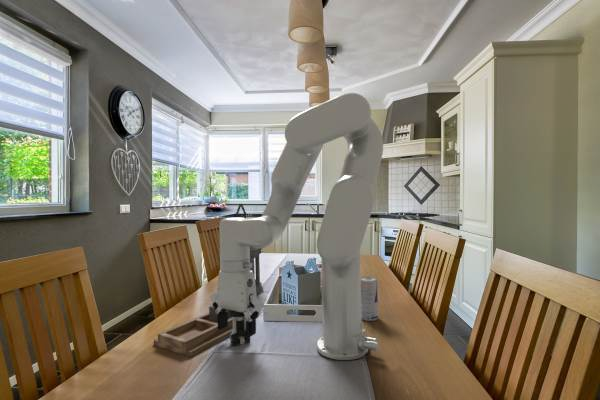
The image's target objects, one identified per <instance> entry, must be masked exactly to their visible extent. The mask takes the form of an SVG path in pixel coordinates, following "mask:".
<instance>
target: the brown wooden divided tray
mask: <svg viewBox="0 0 600 400" xmlns="http://www.w3.org/2000/svg"><path fill="white" fill-rule="evenodd" d="M246 321H248V320H247V318H246ZM232 331H233V318H230V319H228V326H227V327H225V328H223V329H221V330H218V323H216V322H211V321H209V311H208V312H207V313H204V314H202V315H200V316H197V317H195V318H192V319H189V320H187V321H184V322H182V323H180V324H178V325H176V326H174V327H171V328H169V329H166V330H164V331H161V332H159V333H157V338H156V339H154V340H153V345H154V346H156V347H159V348H163V349H165V350H169V351H170V352H173V353H178V354H180V355H183V356H186V357H189V358H192V357H194V356H196V355H197V354H199V353H201V352H203V351H205V350H207V349H208V348H211V347H212V346H214V345H215V344H216V345H217V344H218V343H220V342H221V341H223V340H226V339H227V338H230V334H231V333H232Z"/></svg>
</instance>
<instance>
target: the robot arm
mask: <svg viewBox="0 0 600 400" xmlns="http://www.w3.org/2000/svg"><path fill="white" fill-rule="evenodd" d="M371 111H372V110H371V106H370V103H369V101H368V100H367V98H365V97H364V96H363V95H361V94H359V93H356V92H355V93H354V92H348V93H344V94H343V93H342V94H340V95H338V96H336V97H335V96H334V97H333V98H331V99H329V100H327V101H325V102H322V103H319V104H318V105H315V106H313V107H310V108H308V109H307V110H305V111H302V112H300V113H298V114H296V115H295V116H293V117H292V118H290V120H289V121H287V124H286V126H285V128H284V139H285V141H286V143H285V145H284V147H283V150H282V151H281V154H280V156H279V159H278V161H277V162H276V164H275V166H274V168H273V170H272V172H271V177H270V179H271V180H270V181H271V182H270V183H271V192H270V197H269V199H268V201H267V204H266V206H265V209H264V210H263V213H262V215H261V216H259V217H256V218H248V219H247V217H246V218H244V217H241V216H238V217H236V216H235V217H226V218H225V217H224V218H223V219H221V220H220V222H219V263H220V265H219V267H220V270H219V271H218V277H217V286H216V292H214V293H212V294H211V295H210V296H209V297H210V299H211V300H210V301H211V302H212V306H213V307H214V308H215V310H216V311H215V313H216V314H218V315H217V318H218V330H221V329H223V328H225V327H227V326H228V313H227V311H226V309H227V310H231V311H236V312H241V313H244V315H245V317H246V318H247V320H248V321H246V337H248V338H249V337H250V338H251V337H252V336H254V335H256V333H257V319H258V318H259V316H260V315H261V314H262V311H263V309H264V307H265V304H264V303H263V302H262V301H261V300H259V299H258V298H257V297H258V296H257V295H256V285H255V279H256V278H255V279H254V275H253V271H251V270H250V268H252V263H250V247H253V248H262V249H264V248H266V247H269V246H270V245H272V244H274V243H275V242H277V241H278V240H279V239H280V238H281V237H282V236H283V234H284V231H285V230H286V228H287V226H288V223H289V221H290V220H291V217H292V215H293V214H294V211H295V208H296V206H297V203H298V201H299V199H300V197H301V195H302V191H303V188H304V186H305V185H306V182H307V180H308V178H309V176H310V173H311V171H312V170H313V167H314V165H315V163H316V161H318V160H317V159H318V158H319V156H320V153H321V151H322V149H323V147H324V144H327V143H330V142H332V141H335V140H337V139H339V138H342V137H343V138H344V139H345V141H346V143H347V151H346V155H345V157H344V161H343V166H342V168H341V171H340V175H339V179H338V180H337V181H336V182H335V184H333V187H332V188H331V190H330V194H329V197H328V200H327V204H326V206H325V211H324V214H323V217H322V219H321V220H322V221H321V225H320V227H319V230H318V235H317V239H316V248H317V249H316V250H317V254H318V255H319V257H320V258H321V264H320V265H321V271H320V272H321V310H322V311H321V313H322V314H321V315H322V316H321V318H322V319H321V320H322V337H320V338H319V339H318V340H317V341H316V350H317V351H318V353H319V354H320V355H322V356H324V357H325V358H328V359H333V360H336V361H337V360H339V361H352V360H356V359H360V358H362V357H364V356H365V355H367V354H368V352H369V350H370V351H373V352H378V350H379V346H380V345H379V342H377V339H378V338H375V337H369V336H368V335H366V329H364V328H363V327H362V319H361V278H362V276H361V271H362V270H361V247H362V246H363V241H364V239H365V235H366V232H367V229H368V225H369V221H370V218H371V215H372V211H373V208H374V202H375V191H374V189H375V184H376V181H377V178H378V174H379V170H380V166H381V162H382V158H383V154H384V140H383V136H382V133H381V129H380V128H379V126H378V124H377V123H376V122H375V120H374V119H373V118H372V117H371V116H372V112H371ZM248 311H249V312H248Z"/></svg>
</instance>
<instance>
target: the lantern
mask: <svg viewBox="0 0 600 400" xmlns="http://www.w3.org/2000/svg"><path fill="white" fill-rule="evenodd" d="M241 209H242V212H243V218H246V219H247V212H246V209H245V208H244V205H243V204H242V203H239V204H238V207H237V210H236V212H235V217H239V213H240V210H241ZM262 249H263V248H253V247H250V263H252V268H250V270H251V271H253V275H254V279H255V285H256V296H257V295H259V294H263V292H264V286H263V283H262V282H261V276H260V275H261V274H260V272H261V270H260V255H261V254H262Z"/></svg>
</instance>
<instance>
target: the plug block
mask: <svg viewBox="0 0 600 400" xmlns="http://www.w3.org/2000/svg"><path fill="white" fill-rule="evenodd" d="M215 311H216V310H215V308H214V307H213V305H210V306H209V307H208V312H209V321H211V322H216V323H218V318H217V315H218V314H216V313H215ZM226 311H227V313H228V319H230V318H232V317H231V315H230V312H229V310H227V309H226Z"/></svg>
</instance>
